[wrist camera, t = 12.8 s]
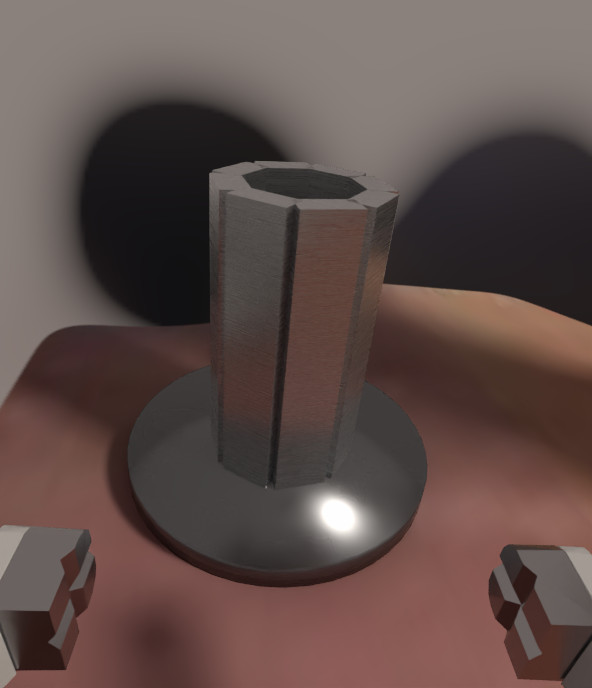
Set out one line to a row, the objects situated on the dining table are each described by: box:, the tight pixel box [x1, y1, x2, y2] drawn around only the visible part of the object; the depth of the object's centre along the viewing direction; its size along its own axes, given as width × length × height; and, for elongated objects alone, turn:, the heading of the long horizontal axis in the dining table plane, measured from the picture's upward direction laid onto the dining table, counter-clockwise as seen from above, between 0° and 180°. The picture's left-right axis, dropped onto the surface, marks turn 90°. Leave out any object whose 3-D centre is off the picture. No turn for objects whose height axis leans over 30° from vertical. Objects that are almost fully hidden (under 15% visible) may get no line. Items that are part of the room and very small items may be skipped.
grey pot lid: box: [127, 365, 427, 587], centre depth 23 cm, size 14×14×5 cm
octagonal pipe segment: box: [210, 161, 399, 491], centre depth 21 cm, size 6×6×12 cm
